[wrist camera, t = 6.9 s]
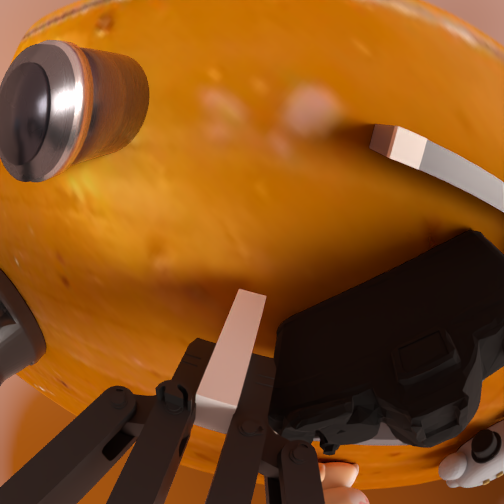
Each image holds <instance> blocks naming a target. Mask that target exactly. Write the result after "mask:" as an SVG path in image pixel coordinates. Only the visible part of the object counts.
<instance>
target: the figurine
mask: <svg viewBox="0 0 504 504" xmlns="http://www.w3.org/2000/svg"><path fill="white" fill-rule="evenodd" d="M503 473H504V420H502V421H500V422H498V423H496V424H494V425H493V426H491V427H489V428H487V429H485V430H482V431H480V432H478V433H477V434H476V435H475V436H474V437H473V438H472V439H470V440H469V441H467V442H466V443H465V444H464V445H462V446H461V447H460V448H459V449H458V451H457V452H456V453H452V454H450V455H448V456H447V457H445V459H444V460H443V461H442V462H441V463H440V465H439V476H440V477H441V478H442V479H444V480H447V482H446V483H447V485H448V486H449V487H458V486H462V487H465V488H466V487H467V488H468V487H475V486H479V485H482V484H483V485H485V484H487V483H489V482H490V481H491V480H493V479H495V478H497V477H500V476H502V475H503Z"/></svg>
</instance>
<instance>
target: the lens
mask: <svg viewBox="0 0 504 504" xmlns="http://www.w3.org/2000/svg"><path fill="white" fill-rule="evenodd" d="M148 104H149V87H148V81H147V78H146V75H145V73H144V71H143V69H142V68H141V66H140V65H139V64H138V63H137V62H136V61H135V60H134V59H132V58H130V57H128V56H125V55H121V54H116V53H111V52H106V51H100V50H94V49H87V48H80V47H78V46H77V45H75V44H73V43H71V42H66V41H57V40H47V41H44V42H41V43H39V44H35V45H32V46H30V47H28V48H26V49H25V50H24V51H22V52H21V53H20V54H19V55H18V56H17V57H16V58H15V60H14V61H13V62H12V64H11V65H10V67H9V68H8V70H7V72H6V74H5V76H4V78H3V81H2V83H1V86H0V158H1V160H2V162H3V164H4V166H5V168H6V169H7V171H8V172H9V173H10V174H11V175H12V176H13V177H14V178H16V179H17V180H19V181H22V182H29V181H31V182H41V181H44V180H46V179H49V178H51V177H54V176H56V175H59V174H61V173H62V172H64V171H65V170H66V169H67V168H68V167H69V166H72V165H75V164H78V163H81V162H84V161H87V160H90V159H93V158H96V157H99V156H103V155H106V154H109V153H113V152H116V151H118V150H120V149H122V148H123V147H125V146H126V145H127V144H129V143H130V142H131V141H132V140H133V138H134V137H135V136H136V135H137V133H138V132H139V130H140V128H141V126H142V124H143V122H144V120H145V117H146V113H147V109H148Z"/></svg>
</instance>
